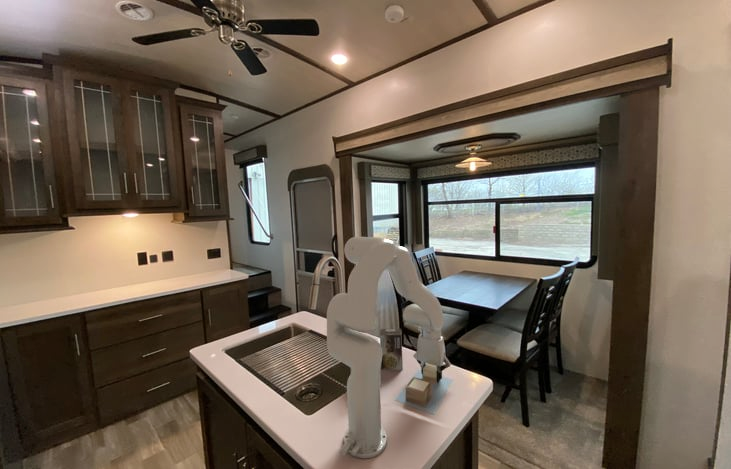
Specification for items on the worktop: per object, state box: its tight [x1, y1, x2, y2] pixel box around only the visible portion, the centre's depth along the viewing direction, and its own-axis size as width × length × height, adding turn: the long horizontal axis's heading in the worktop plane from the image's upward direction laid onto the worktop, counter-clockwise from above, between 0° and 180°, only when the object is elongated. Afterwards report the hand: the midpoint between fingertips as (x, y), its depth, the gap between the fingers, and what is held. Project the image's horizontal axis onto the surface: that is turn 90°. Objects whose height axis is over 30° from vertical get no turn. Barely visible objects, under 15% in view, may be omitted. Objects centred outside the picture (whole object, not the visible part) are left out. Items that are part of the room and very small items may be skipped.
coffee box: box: [379, 328, 404, 372], centre depth 120 cm, size 9×6×16 cm
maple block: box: [423, 363, 438, 385], centre depth 110 cm, size 5×5×5 cm
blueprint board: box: [394, 369, 453, 415], centre depth 104 cm, size 22×14×6 cm, turn 147°
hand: (431, 377), depth 110 cm, fingers closed on maple block, 5 cm apart
